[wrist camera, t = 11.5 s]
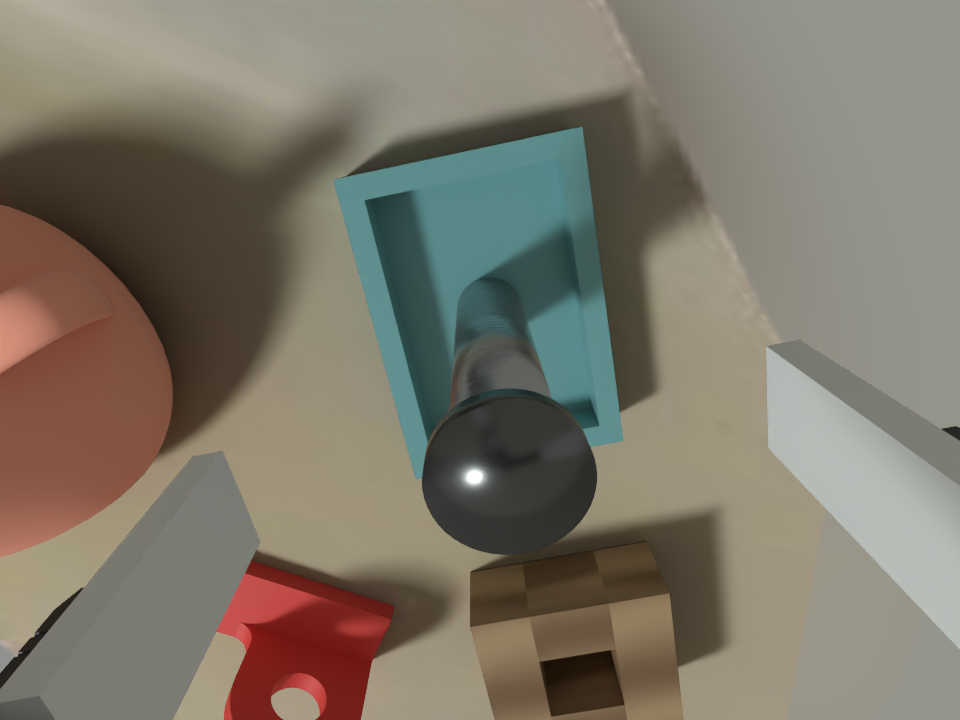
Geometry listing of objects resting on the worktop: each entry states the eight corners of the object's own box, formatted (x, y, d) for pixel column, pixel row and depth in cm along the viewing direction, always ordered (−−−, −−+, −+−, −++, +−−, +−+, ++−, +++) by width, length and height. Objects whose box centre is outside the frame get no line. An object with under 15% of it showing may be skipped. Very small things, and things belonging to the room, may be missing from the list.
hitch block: (470, 572, 33) (470, 626, 30) (646, 541, 33) (669, 593, 29) (502, 699, 37) (506, 763, 33) (662, 673, 36) (685, 735, 32)
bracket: (394, 604, 34) (372, 733, 27) (368, 659, 36) (341, 796, 28) (188, 539, 32) (104, 657, 25) (170, 599, 34) (85, 728, 26)
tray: (345, 176, 26) (333, 179, 23) (571, 128, 25) (582, 126, 23) (420, 453, 31) (415, 478, 28) (611, 417, 30) (623, 440, 28)
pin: (437, 276, 27) (403, 421, 13) (524, 258, 27) (584, 386, 13) (456, 357, 28) (443, 567, 14) (538, 341, 28) (607, 538, 14)
